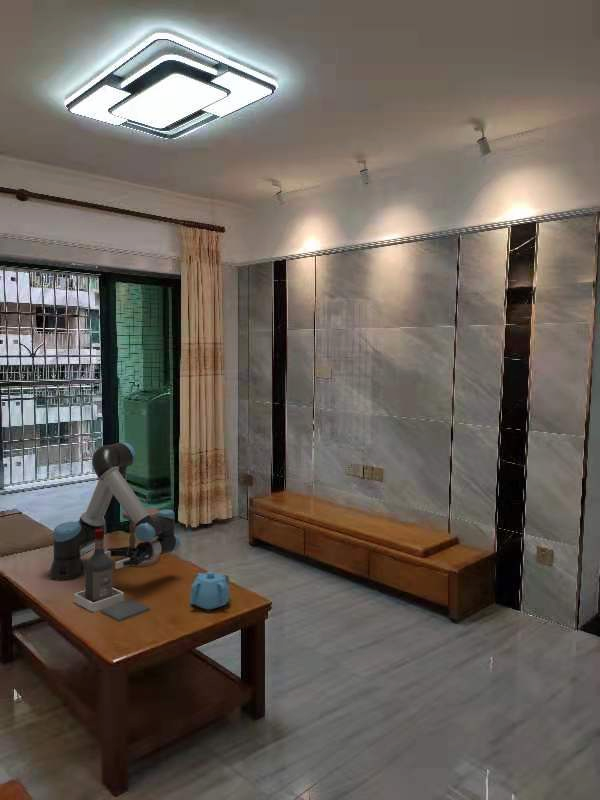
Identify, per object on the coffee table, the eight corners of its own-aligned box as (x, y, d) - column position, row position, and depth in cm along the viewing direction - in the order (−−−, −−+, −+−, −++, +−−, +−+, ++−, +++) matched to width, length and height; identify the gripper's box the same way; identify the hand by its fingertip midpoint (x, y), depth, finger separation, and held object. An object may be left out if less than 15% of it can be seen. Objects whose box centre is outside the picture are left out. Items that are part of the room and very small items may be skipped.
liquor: (115, 601, 240) (115, 530, 238) (95, 608, 233) (95, 535, 231) (102, 595, 246) (102, 525, 244) (82, 602, 238) (83, 530, 237)
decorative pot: (233, 598, 247) (234, 566, 246) (224, 614, 231) (225, 580, 230) (196, 595, 248) (197, 564, 248) (184, 611, 232) (185, 577, 232)
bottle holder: (73, 602, 238) (73, 593, 238) (104, 591, 249) (104, 583, 249) (92, 612, 229) (92, 603, 229) (124, 601, 240) (124, 593, 240)
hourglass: (116, 559, 289) (116, 510, 288) (148, 553, 301) (148, 505, 300) (132, 569, 276) (132, 518, 275) (165, 562, 288) (165, 512, 287)
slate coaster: (100, 611, 230) (100, 609, 230) (130, 601, 240) (130, 598, 240) (119, 621, 221) (119, 619, 221) (149, 610, 232) (149, 607, 232)
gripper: (166, 564, 249) (123, 577, 232) (131, 551, 264) (89, 563, 248) (166, 547, 248) (124, 559, 232) (131, 535, 264) (89, 546, 247)
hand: (105, 561), depth 240 cm, fingers open, 13 cm apart
